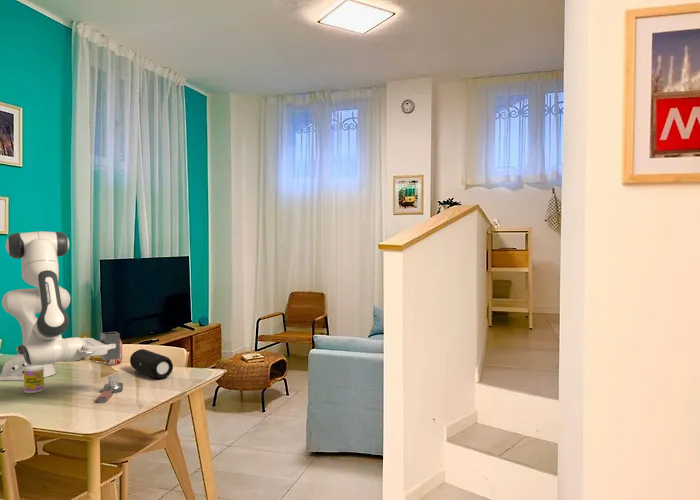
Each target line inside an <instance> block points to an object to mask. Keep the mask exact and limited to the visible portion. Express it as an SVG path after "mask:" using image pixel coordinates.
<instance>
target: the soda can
mask: <svg viewBox="0 0 700 500" xmlns="http://www.w3.org/2000/svg"><path fill="white" fill-rule="evenodd" d="M105 361H106V364H107V365H109V366H117V365H120V364H121V363H122V361H123V342H122V340H121V338H120V358H119V359H112V360H105Z"/></svg>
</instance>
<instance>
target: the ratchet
mask: <svg viewBox="0 0 700 500" xmlns="http://www.w3.org/2000/svg"><path fill="white" fill-rule="evenodd" d="M107 378H108V381H107V382H108V383H105V384H104V385H103V391H102V393H101V394H99V395H98V396H97V399H98V400H97V403H98V404H104V403H105V402H106V403H107V402H109V400H110V399H111V398H112V397H113V395H114V394H116V393H117V392H118V393H121V392H123V391H124V390H123V389H124V384H123V382H119V376H118V375H116V374H113V375H108V377H107ZM122 390H123V391H122ZM118 393H117V394H118ZM106 403H105V404H106Z"/></svg>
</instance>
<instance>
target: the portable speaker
mask: <svg viewBox="0 0 700 500" xmlns="http://www.w3.org/2000/svg"><path fill="white" fill-rule="evenodd" d="M129 358H130V359H129V362H130V366H131V368H132V369H134V370H135V371H138V372H140V373H143V374H145V375H147V376H150V377H153V378H155V379H156V380H157V379H158V380H160V379H164V378H167V377H169V376H170V375H171V373H172V372H173V369H174V365H173V362H172V360H171V358H170V357H168V356H166V355H163V354H159V353H157V352H154V351H151V350H148V349H144V348H141V349H138V350H136V351H134V352H133V353H132V354H131V355H130V357H129Z"/></svg>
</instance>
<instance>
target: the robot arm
mask: <svg viewBox="0 0 700 500" xmlns="http://www.w3.org/2000/svg"><path fill="white" fill-rule="evenodd" d="M5 249H6V252H7V253H8V256H10V257H11V259H12V258H13V259H18V260H19V259H20V260H21V277H22V278H21V279H22V280H23V281H24V282H25V283H26V284H27V285H30V286H32V287H34V288H20V289H19V288H18V289H14V290H10V291H7V292H6V293H5V294H4V295H3V297H2V299H1V300H2V301H1V305H2V308H3V310H4V311H5V312H6V313H7V314H10V315H11V316H12V317H14V318H15V319H16V320H17V321H18V323H19V325H20V328H21V335H22V344H21V345H19V346H18V347H16V351H17V352H18V353H17V354H15V355H14V356H13V357H11V358H10V359H9V360H7V361H6V362H4V364H3V366H2V370H1V373H0V381H24V368H25V367H26V366H28V364H30V365H43V367H44V378H46V377H50V376H53V375H55V374H56V373H57V371H56V368H55V364H56V363H61V362H62V363H68V362H75V361H76V360H78V361H81V360H80V359H81V356H86V357H97V356H99V357H100V355H105V354H107V350H109V349H113V348H116V344H114V343H112V344H107V345H106V344H103V343H101V342H100V340H97V339H95V338H93V337H79V336H75V337H74V336H73V337H66V338H63V337H62V334H64V333H65V332H66V331H67V330H68V328H69V325H70V318H69V316H68V313H67V311H65V310H67V308H68V307H69V306H70V304H71V295H70V292H68V290H67V289H65V288H63V287H62V286H60V285H59V274H60V273H59V270H60V268H59V260H58V258H59V257H64V256H65V255H66V254H67V253H68V251H69V249H70V240H69V238H68V236H67V235H66V233H65V232H61V231H42V230H41V231H40V230H39V231H30V232H16V233H14V232H13V233H10V234H9V235H8V237H7V240H6V242H5ZM36 314H39V316H38V317H37V316H36ZM76 362H77V361H76ZM27 363H28V364H27Z"/></svg>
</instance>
